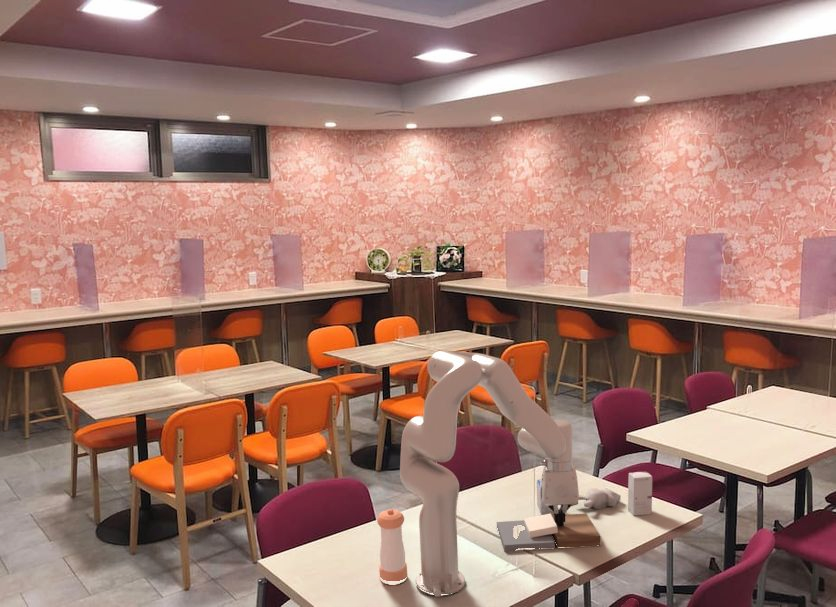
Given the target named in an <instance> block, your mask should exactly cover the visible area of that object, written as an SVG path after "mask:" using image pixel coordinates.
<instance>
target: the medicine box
mask: <svg viewBox="0 0 836 607" xmlns="http://www.w3.org/2000/svg"><path fill="white" fill-rule="evenodd" d="M541 481H542V478H541V479H537V480H536V500H537V501H536V502H537V507H538V510H539V512H540V515H545V514H550V513H551V515H552V516H553V515H554V511H552V510H551V509H550V508H549V507H542V506H541V499H542V497H541Z"/></svg>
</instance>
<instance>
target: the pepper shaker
mask: <svg viewBox="0 0 836 607" xmlns="http://www.w3.org/2000/svg"><path fill="white" fill-rule="evenodd" d="M404 521H405V516H404V514H403V513H402V512H401V511H400V510H396V509H392V508H388V509H387V510H383V511H381V512H379V514H378V516H377V519H376V523H377V525H378V526H379V527H380V548H379V560H380V561H379V562H380V564H379V566H378V567H379V570H378V571H379V578H380V577H381V578H382V579H383V580H386V581H400V580H403V579H405V578H406V577H407V578H408V564H407V562H406V551H405V547H404V541H403V532H402V531H403V530H402V528H403V527H402V526H403V524H404Z"/></svg>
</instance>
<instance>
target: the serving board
mask: <svg viewBox="0 0 836 607" xmlns="http://www.w3.org/2000/svg"><path fill="white" fill-rule="evenodd" d="M552 517H553V519H554V515H552ZM556 525H557V524H556ZM557 530H558V533H553V534H552V535H551V536H553V537H552V538H554V539H553V540H555V541H554V543H555V542H556V543H555V545H556V544H557V546H556V547H575V548H582V547H581V546H591V547H601V535H600V533H599V531H598V529H597V528H596V526H595V525H594V523H593V522H592V519H590V516H589V514H587V513H571V514H565V522H564V526H560V527H558V526H557ZM597 545H599V546H597Z"/></svg>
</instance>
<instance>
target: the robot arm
mask: <svg viewBox="0 0 836 607" xmlns="http://www.w3.org/2000/svg"><path fill="white" fill-rule="evenodd" d="M426 368H427V373H428V375H429V376H430V378H431V379H432V380H433V381H434V382H436V383H435V384H434V385H433V386H432V387H431V389H430V390H429V391H428V394H427V396H426V397H425V398H426V399H425V401H424V406H423V415H416V416H414V417H412V418H410V419H409V421H407V423H406V425H405V426H404V428H403V430H402V434H401V442H400V443H401V444H400V445H401V446H400V465H399V477H400V481H401V484H402V485H403V487H405V488H406V490H408V491H409V492H411V493H412V494H414V495H416V496H417V497H419V499H421V500H422V507H421V509H420V512H419V516H418V517H419V518H418V526H419V527H418V528H419V548H420V551H419V552H420V569H421V571H420V572H419V573H418V574H417V576H416V578H415V585H416V584H417V586H418V587H419V588H421V589H422V590H424V591H426V592H429V593H433V594H434V595H435V596H434V597H436V598H439V597H442V596H441V594H451V593H455V592H457V593H459V592H460V591H461V590H463V588H464V586H465V584H466V582H465V580H466V578H465V576H464V574H463V573H462V572H461V571H459V556H458V555H459V554H458V553H459V552H458V526H457V523H458V522H457V510H458V509H457V507H458V500H459V494H460V483H459V480H458V478H457V476H456V475H455V474H454V472H452V471H451V470H449V469H448V468H447V467H445V466H443V465H441V464H439V463H446V462H449V461H450V460H451V459H452V458H453V457H454V454H455V451H456V446H457V445H456V444H457V432H458V430H457V429H458V428H457V427H458V426H457V425H458V417H459V416H458V414H459V407H460V405H461V403H462V401H463V399H465V397H466V396H467V395H468V394H469V393H470V392H471V391H472V390H474V389H475V388H476V387H477V386H479V387H481V388H484V390H486V393H488V395H489V397H490V398H491V400H492V401H493V402H494V404H495V405H496V407H497V408H498V410H499V412H500V413H501V414H502V415H503V416H504V417H505V418H506V419H507V420H509V421H510V422H512V423H513V424H514V425H517V426H518V427H520V428H521V429H520V430H519V431H518V434H517V442H518V444H519V445H520V447H521V448H522V449H524V450H526V451H528V452H530V453H532V454H534V455H538V456H540V457H543V458H544V459H543V460H540V462H539V463H540V466H544V467H543V469H542V475H541V479H542V481H541V497H542V499H541V506H542V507H549V508H550V509H551V510H552V511H554V521H555V523H556V524H557V526H558V527H560V526H564V522H565V515H566V514H567V512H568V510H569V509H570V508H571V507H574V506H577V505H579V501H580V500H579V494H580V491H579V484H578V474H577V470H576V468H575V467H574V466H573V426H572V424H571V423H570V422H569V421H567V420H564V419H553V417H551V415H550V414H548V413H547V412H546V411H545V410H544V409H543V408H542V407H541V406H540V405H539V404H538V403H537V402H535V400H533V398H532V397H530V396H529V395H528V392H526V390H525V388H524V387H523V386H522V384H521V383H520V380H519V379H518V377H517V375H516V374H515V373H514V372H513V370H512V368H511V367H510V365H508V363H507V362H506V361H505V360H503V359H501V358H499V357H495V356H491V355H488V354H485V353H479V352H468V351H457V350H456V351H455V350H446V349H445V350H444V349H442V350H438V351H436V352H435V353H433V354H432V355H431V356H430V358H429V359H428V360H427V367H426ZM559 506H560V508H559ZM421 575H422V576H421ZM417 586H416V587H417ZM421 586H423V587H421ZM459 590H460V591H459ZM455 594H456V593H455Z"/></svg>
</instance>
